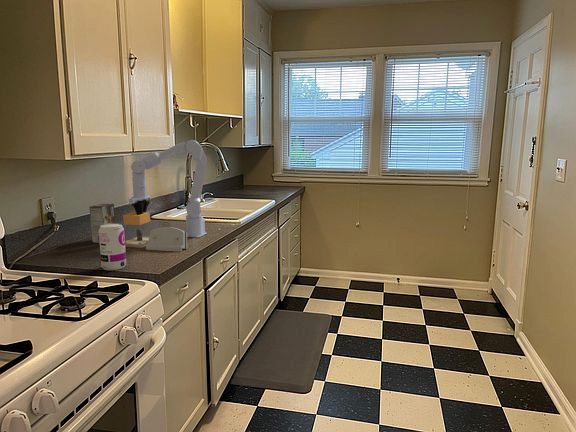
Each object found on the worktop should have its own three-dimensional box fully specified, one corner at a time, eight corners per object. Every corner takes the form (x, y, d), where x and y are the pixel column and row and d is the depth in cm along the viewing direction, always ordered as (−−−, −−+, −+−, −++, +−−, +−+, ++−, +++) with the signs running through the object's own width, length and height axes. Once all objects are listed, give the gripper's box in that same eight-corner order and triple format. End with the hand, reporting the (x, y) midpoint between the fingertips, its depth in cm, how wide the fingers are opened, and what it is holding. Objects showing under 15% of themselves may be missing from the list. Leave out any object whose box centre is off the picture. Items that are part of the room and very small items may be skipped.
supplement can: (129, 264, 158) (126, 223, 156) (121, 270, 150) (118, 227, 148) (106, 264, 158) (103, 223, 156) (97, 271, 150) (94, 227, 148)
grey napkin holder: (144, 249, 180) (147, 225, 182) (150, 250, 185) (153, 227, 186) (182, 251, 176) (185, 227, 178) (187, 252, 181) (190, 228, 182)
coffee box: (104, 238, 202) (101, 203, 199) (117, 238, 201) (114, 203, 198) (91, 242, 193) (89, 206, 191) (105, 243, 192) (102, 206, 189)
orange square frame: (134, 220, 201) (133, 212, 200) (150, 221, 199) (149, 212, 198) (124, 224, 193) (123, 215, 192) (140, 225, 191) (139, 216, 190)
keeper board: (138, 239, 199) (138, 226, 197) (158, 240, 196) (158, 226, 195) (120, 246, 185) (119, 232, 184) (141, 247, 183) (140, 233, 182)
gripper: (140, 185, 204) (142, 214, 206) (121, 188, 190) (123, 219, 193) (154, 185, 202) (156, 214, 205) (136, 189, 189) (138, 220, 191)
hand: (141, 217), depth 199 cm, fingers closed on orange square frame
